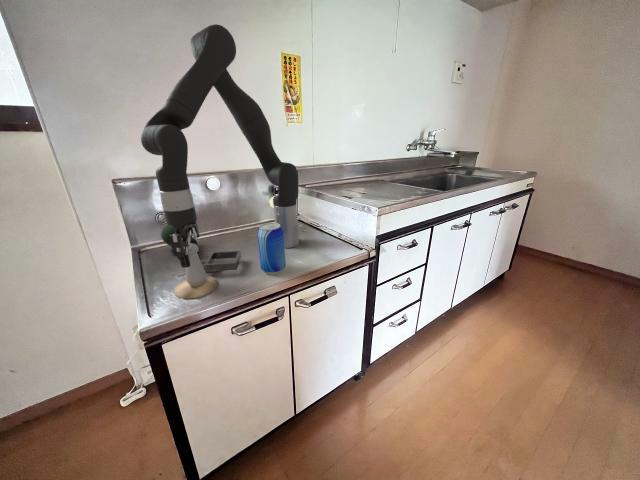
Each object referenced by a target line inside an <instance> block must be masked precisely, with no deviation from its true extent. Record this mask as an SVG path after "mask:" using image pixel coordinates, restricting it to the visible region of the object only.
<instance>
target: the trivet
mask: <svg viewBox="0 0 640 480" xmlns="http://www.w3.org/2000/svg"><path fill="white" fill-rule="evenodd" d="M218 283H219V282H218V280H217V278H216V277H213V276H210V275H207V277H206V280H205V283H204V284H203V285H202V286H198V287H192V286H190V285H189V284H188V282H187V281H186V279H185V280H182V281H181V282H180V283H177V285H176V286H175V288H174V290H173V292H174V295H175V297H177V298H179V299H181V298H184V299H183V300H191V299H190V298H194V299H198V298H197V297H199V298H201V297H200V296H202V297H204V296H203V295H205V296H207V295H209V294H211V293H212V292H214V291H215V290H216V289H217V287H218ZM214 289H215V290H214ZM211 291H212V292H211ZM210 292H211V293H210ZM208 293H209V294H208ZM206 294H207V295H206Z"/></svg>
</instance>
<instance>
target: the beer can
mask: <svg viewBox="0 0 640 480" xmlns="http://www.w3.org/2000/svg"><path fill="white" fill-rule="evenodd" d="M256 235H257V243H258V244H257V245H258V253H259V261H260V262H259V263H260V269H261V271H263V273H264V274H266V275H269V276H274V275H279V274H281V273H283V272H284V270H285V268H286V265H287V264H286V263H287V262H286V261H287V260H286V248H285V246H284V232H283V230H282V228H281V227H280V224H278V223H275V222H266V223H262V224H260V225H259V229H258V231H257V234H256Z"/></svg>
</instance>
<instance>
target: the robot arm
mask: <svg viewBox="0 0 640 480" xmlns="http://www.w3.org/2000/svg"><path fill="white" fill-rule="evenodd" d="M190 51H191V53H192V56H193V58H194V59H195V62H194V63H193V64H192V66H191V67H190V68H189V69H188V71H186V72H185V74H184V75H182V77H181V78H180V79H179V80H177V81H178V82H177V83H176V84H175V85H174V87H173V88H172V90H171V91H170V93H169V95H168V96H167V98H166V100H165V102H164V104H163V106H162V107H161V108H160V109H159V110H158V111H157V112H156V113H155V114H153V116H151V118H150V119H149V120H148V121H147V122H146V123H145V125H144V126H143V127H142V129H141V133H140V143H141V146H142V148H143V149H144V150H145V151H146V152H147V153H149V154H150V155H151V154H152V155H155V156H161V157H162V159H161V160H162V164H161V165H162V166H159V167H157V168H156V169H155V177H156V181H157V185H158V189H159V194H160V201H161V206H162V209H163V213H164V217H165V221H166V225H167V224H168V225H169V226H172V227H174V228H175V234H174V235H170V241H171V246H172V247H171V246H170V247H171V249H172V250H173V253H172V255H173V257H176V256H179V258H178V259H179V262H180V263H179V264H180V265H181V266H180V267H181V268H182V269H184V268H185V269H186V267H190V260H189V256H188V247H190V244H191V243H194V244H196V245H197V246H198V252H197V254H198V255H199V254H200V249H199V248H200V247H199V244H198V242H199V238H200V235H201V234H200V232H199V228H198V223H197V221H198V217H197V211H196V206H195V201H194V197H193V194H192V191H191V188H190V182H189V179H188V178H189V176H188V173H187V170H188V154H189V152H188V151H189V149H188V148H189V146H188V141H187V138H186V136H185V134H184V133H183V130H184V129H185V130H186V129H188V128H189V127H190V126H191V125H192V124H193V123H194V121H195V119H196V117H197V115H198V113H199V112H200V109H201V107H202V106H203V104H204V102H205V100H206V98H207V96H208V95H209V93H210V92H211V90H212V88H215V90H216V91H217V93H218V95H219V96H220V97H221V99H222V101H223V102H224V104H225V106H226V107H227V109H228V110H229V112H230V114H231V115H232V117H233V119H234V121H235V122H236V124H237V126H238V128H239V130H240V132H241V133H242V135H243V136H244V137H245V140H246V141H247V142H248V144H249V145H250V146H249V147H251V149H252V151H253V152H254V153H255V155H256V158H258V160H259V163H260V165H261V167H262V169H263V171H264V173H265V176H266V177H267V179H268V181H269V183H271V184H272V185H273V186H276V187H278V188H277V189H278V193H277V195H275V196H274V197H273V198H272V202H273V203H272V205H273V215H274V217H273V218H274V223H278V224H280V227H281V228H282V230H283V232H284V246H285V249H288V248H289V249H290V248H294V247H299V225H298V223H299V222H298V207H297V205H298V204H297V201H298V198H299V173H298V172H299V171H298V169H297V167H296V165H294V164H293V163H290V162H283V161H282V160H281V159H280V158H279V157H278V154H277V153H276V151H275V149H274V147H273V143H272V142H273V141H272V132H271V127H270V124H269V122H268V119H267V118H266V116H265V114H264V112H263V110H262V108H261V107H260V105H259V103H257V101H256V100H254V99H253V97H252V96H250V95H249V94H248V93H246V92H245V91H244V90H243V89H242V88H241V87H240V86H239V85H238V84H237V83H236V82H235V80H234V79H233V77H232V75H231V74H230V71H228V67H229V66H230V65H231V64H232V63H233V62H234V61H235V59H236V55H237V45H236V42H235V39H234V37H233V35H232V34H231V32H230V30H228V28H226V27H224V26H223V25H221V24H210V25H208V26H206V27H205V28H203V29H201V30H200V31H198V32H196V33H195V34H194V35H193V36H192V37H191V39H190ZM183 243H185V244H183ZM184 247H185V248H184ZM176 248H177V250H176ZM180 250H181V251H180ZM176 258H177V257H176Z"/></svg>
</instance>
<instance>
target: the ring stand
mask: <svg viewBox="0 0 640 480" xmlns="http://www.w3.org/2000/svg"><path fill="white" fill-rule="evenodd" d="M241 252H242V251H241V250H224V251H211V253H210V255H209V256H208V257H207V259H206V258H205V259H204V258H203V259H200V261H201V263H202V265H203V268H204V270H205V272H206V273H207V272H208V273H209V272H224V271H227V272H228V271H237V270H238V268H239V265H240V262H241V259H242V253H241ZM223 259H225V260H226V259H234V261H233V262H216V263H215V262H214V261H215V260H223Z"/></svg>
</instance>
